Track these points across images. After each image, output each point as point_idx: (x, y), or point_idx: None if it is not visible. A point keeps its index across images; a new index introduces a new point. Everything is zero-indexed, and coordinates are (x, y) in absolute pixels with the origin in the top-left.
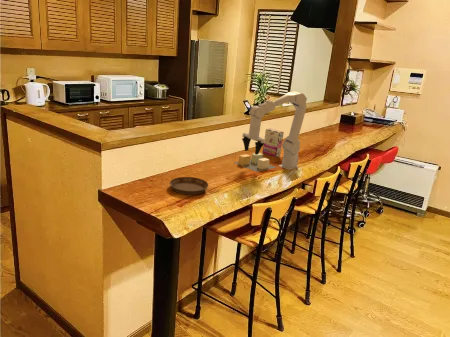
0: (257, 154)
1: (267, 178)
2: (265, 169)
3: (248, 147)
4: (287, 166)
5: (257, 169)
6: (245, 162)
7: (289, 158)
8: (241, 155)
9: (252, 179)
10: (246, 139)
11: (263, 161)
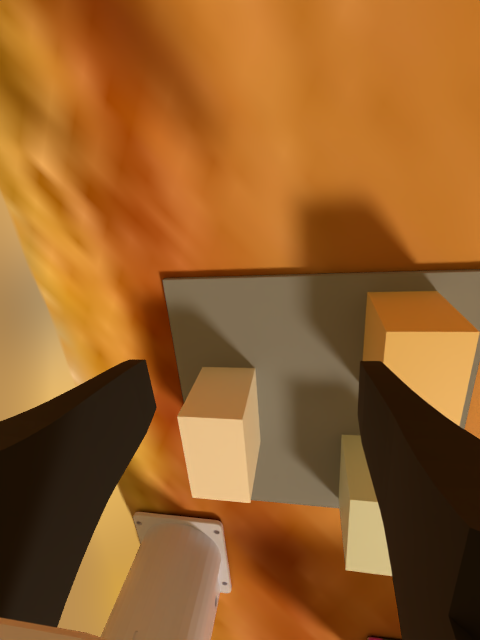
0: (369, 529)
1: (28, 253)
2: (189, 391)
3: (368, 459)
4: (151, 535)
5: (213, 334)
6: (369, 338)
7: (120, 603)
8: (458, 358)
9: (24, 86)
10: (451, 604)
11: (181, 421)
